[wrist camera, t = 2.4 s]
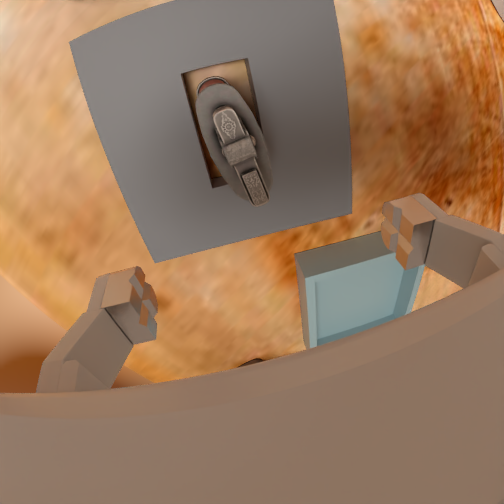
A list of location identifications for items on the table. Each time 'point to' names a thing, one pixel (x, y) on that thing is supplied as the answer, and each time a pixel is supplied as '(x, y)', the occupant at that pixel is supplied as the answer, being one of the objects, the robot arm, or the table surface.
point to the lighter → (234, 140)
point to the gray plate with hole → (184, 127)
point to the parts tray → (352, 288)
